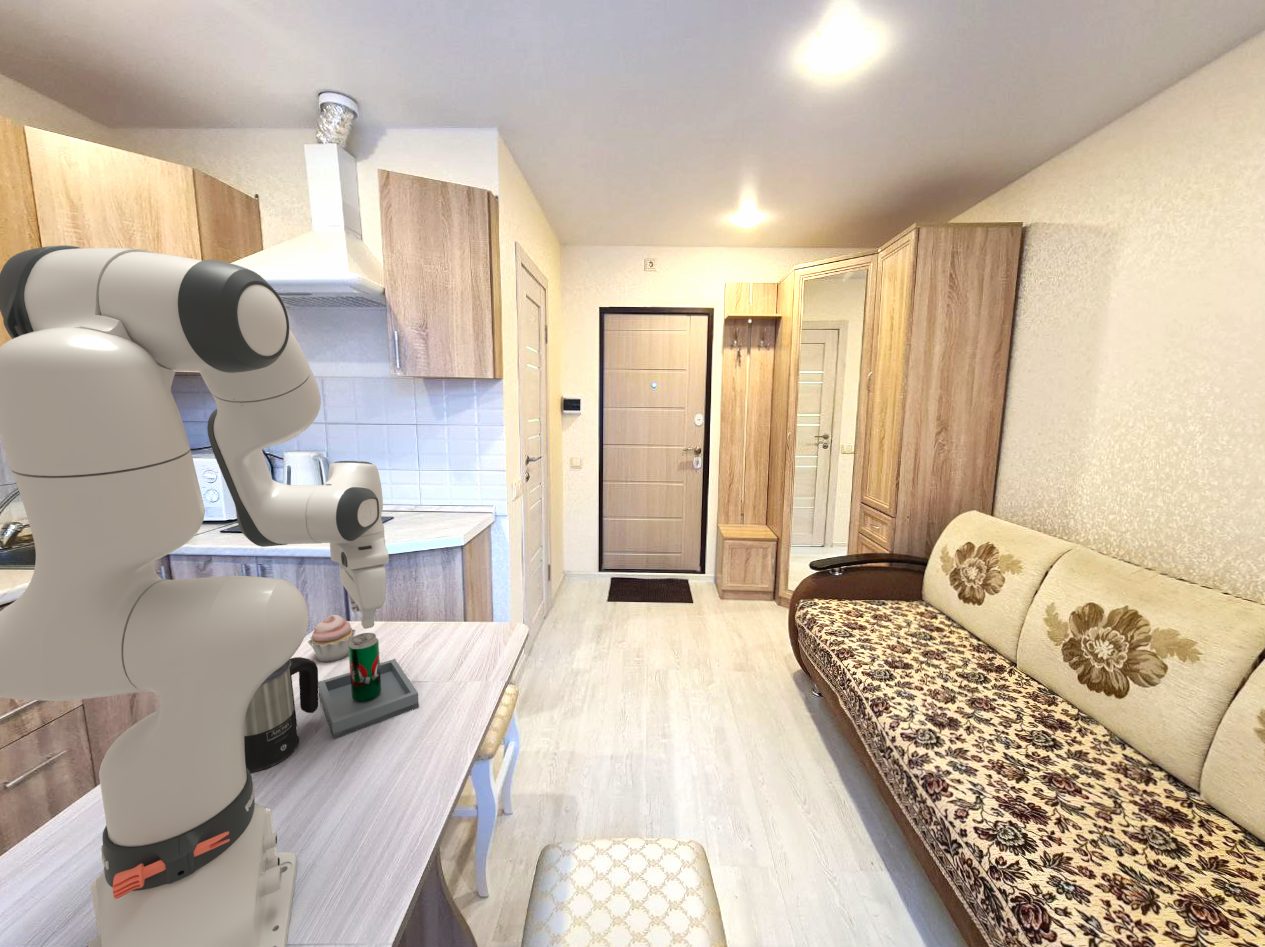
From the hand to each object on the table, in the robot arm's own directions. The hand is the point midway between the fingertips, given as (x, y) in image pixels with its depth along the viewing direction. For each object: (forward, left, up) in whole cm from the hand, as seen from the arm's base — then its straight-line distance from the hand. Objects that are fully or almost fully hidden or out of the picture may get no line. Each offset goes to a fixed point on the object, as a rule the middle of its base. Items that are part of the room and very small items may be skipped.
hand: (362, 618), depth 90 cm
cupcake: (+24, +2, -18) cm, 30 cm away
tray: (0, 0, -17) cm, 17 cm away
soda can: (+1, 0, -17) cm, 16 cm away
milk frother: (0, +17, -18) cm, 24 cm away
